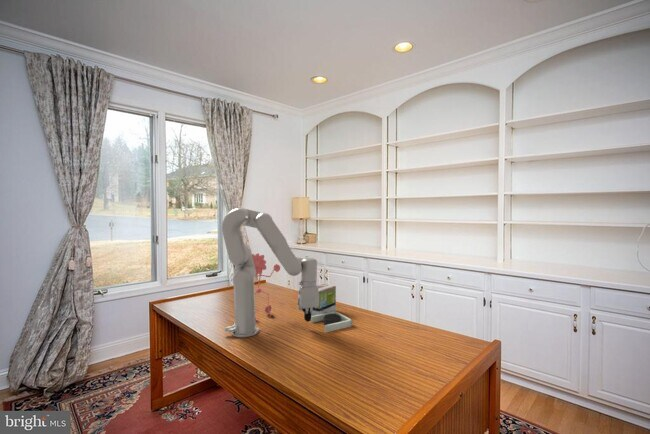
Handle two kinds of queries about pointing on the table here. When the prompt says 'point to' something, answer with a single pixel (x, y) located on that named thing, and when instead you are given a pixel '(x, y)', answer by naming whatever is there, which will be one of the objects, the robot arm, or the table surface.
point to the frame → (335, 326)
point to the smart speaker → (331, 319)
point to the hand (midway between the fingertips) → (307, 320)
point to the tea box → (326, 300)
